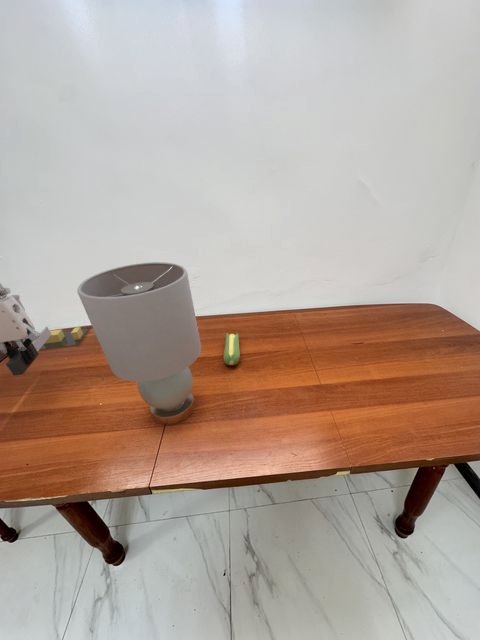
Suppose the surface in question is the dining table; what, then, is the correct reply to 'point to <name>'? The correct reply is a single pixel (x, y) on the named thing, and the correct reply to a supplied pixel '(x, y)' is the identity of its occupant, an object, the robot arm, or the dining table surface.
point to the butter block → (55, 336)
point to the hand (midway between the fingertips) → (25, 361)
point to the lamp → (147, 332)
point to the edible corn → (231, 349)
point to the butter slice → (77, 333)
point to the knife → (18, 362)
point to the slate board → (64, 341)
